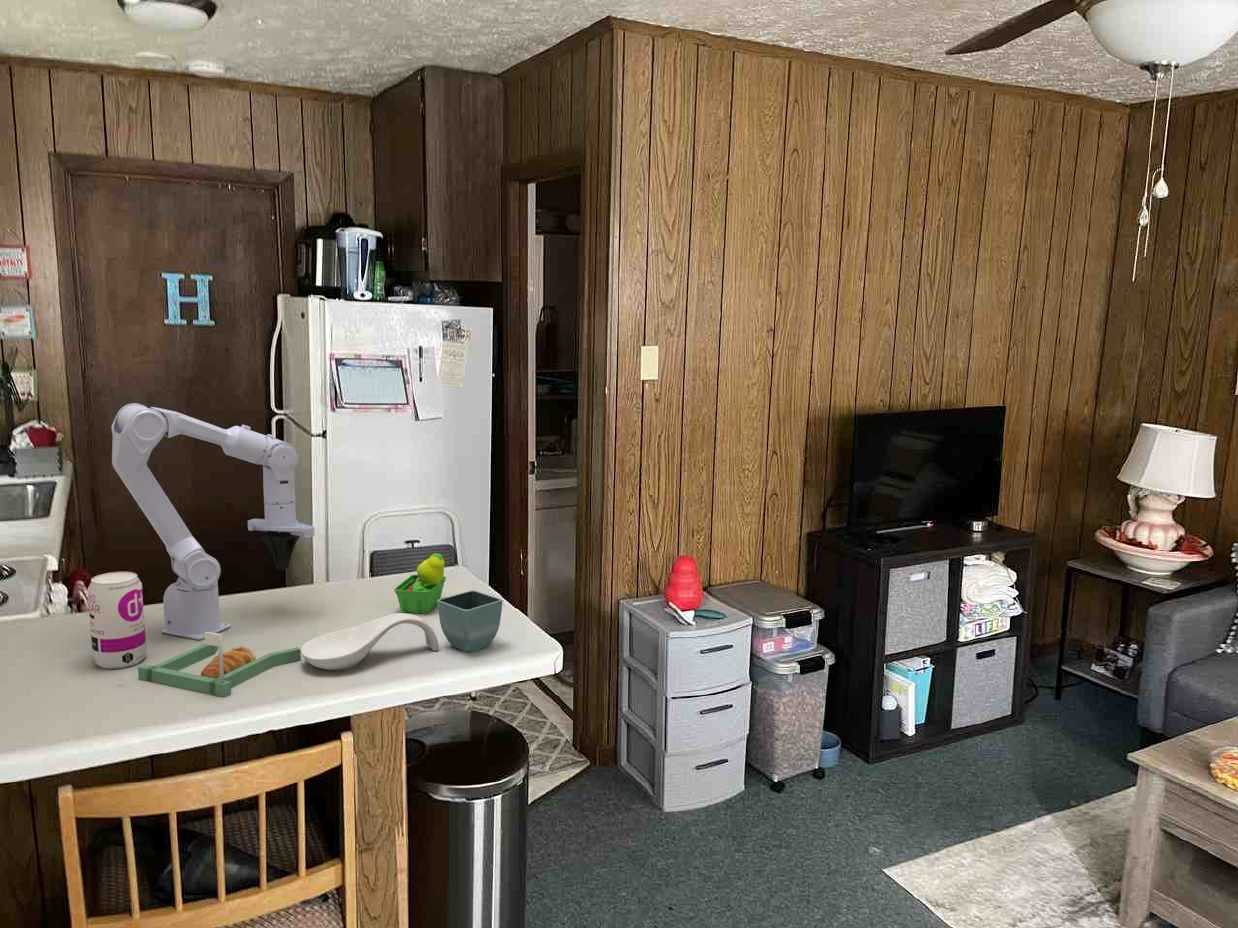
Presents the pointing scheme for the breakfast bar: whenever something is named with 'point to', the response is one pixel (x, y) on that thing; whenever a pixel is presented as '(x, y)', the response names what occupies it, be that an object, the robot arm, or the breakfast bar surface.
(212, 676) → the pastry
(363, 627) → the spoon rest
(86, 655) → the breakfast bar surface
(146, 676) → the green bars
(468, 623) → the flower pot
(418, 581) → the fruit basket
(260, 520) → the robot arm
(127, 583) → the supplement can
